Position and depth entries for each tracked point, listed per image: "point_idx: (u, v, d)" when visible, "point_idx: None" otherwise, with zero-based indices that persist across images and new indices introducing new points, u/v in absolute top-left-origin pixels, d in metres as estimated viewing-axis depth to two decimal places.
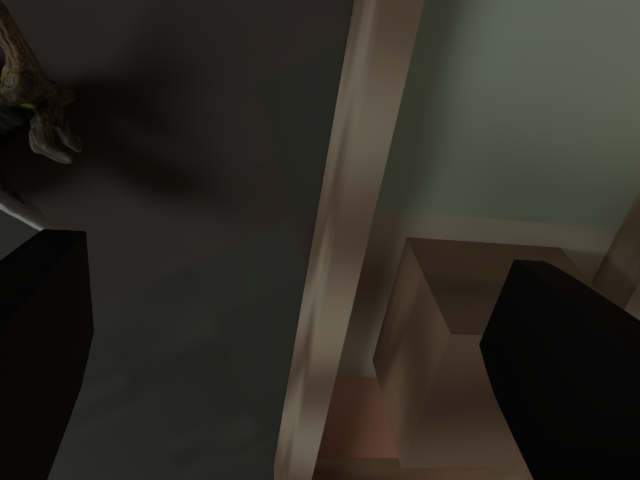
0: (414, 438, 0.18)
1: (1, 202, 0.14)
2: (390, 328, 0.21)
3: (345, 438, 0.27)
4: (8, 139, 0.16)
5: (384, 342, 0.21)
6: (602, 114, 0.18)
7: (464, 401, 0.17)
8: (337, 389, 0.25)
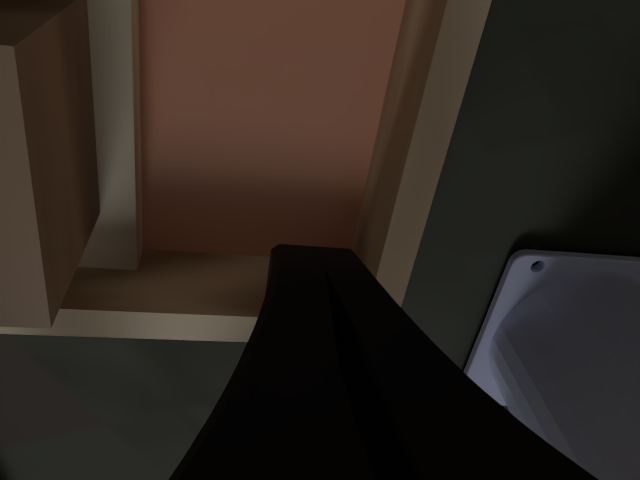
0: None
1: None
2: None
3: (316, 203, 0.18)
4: None
5: None
6: None
7: None
8: (208, 221, 0.18)
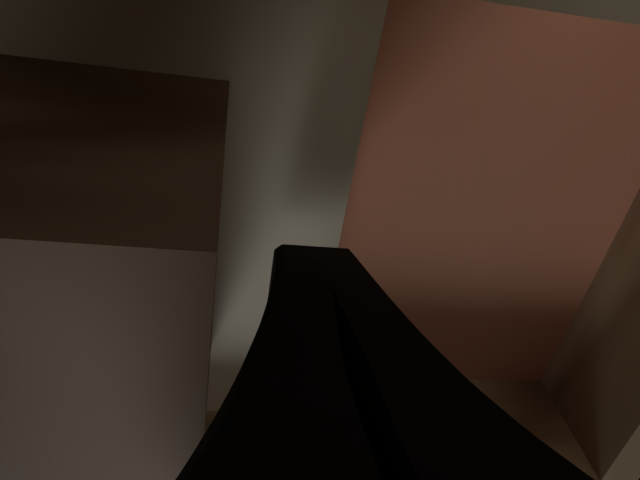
0: None
1: None
2: None
3: (519, 319, 0.15)
4: None
5: None
6: None
7: None
8: None
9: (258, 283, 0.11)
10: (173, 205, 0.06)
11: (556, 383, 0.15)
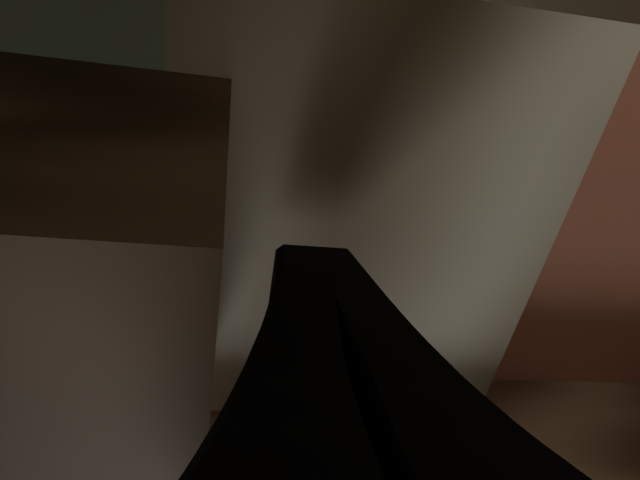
0: None
1: None
2: None
3: None
4: None
5: None
6: None
7: None
8: (546, 348, 0.15)
9: (466, 293, 0.12)
10: (178, 202, 0.06)
11: None
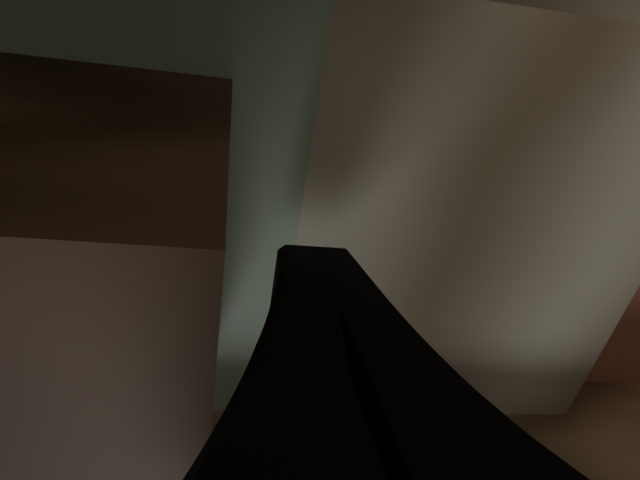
0: None
1: None
2: None
3: None
4: None
5: None
6: None
7: None
8: (628, 351, 0.16)
9: (571, 299, 0.13)
10: (180, 204, 0.06)
11: None
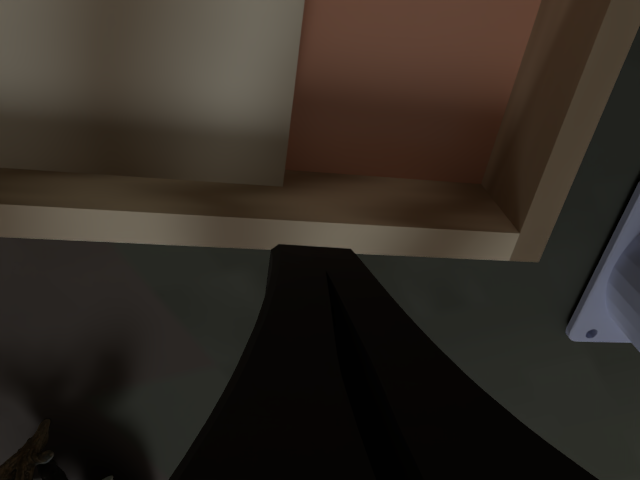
0: None
1: None
2: None
3: (457, 119, 0.18)
4: None
5: None
6: None
7: None
8: (349, 139, 0.18)
9: (241, 52, 0.15)
10: None
11: (491, 178, 0.19)
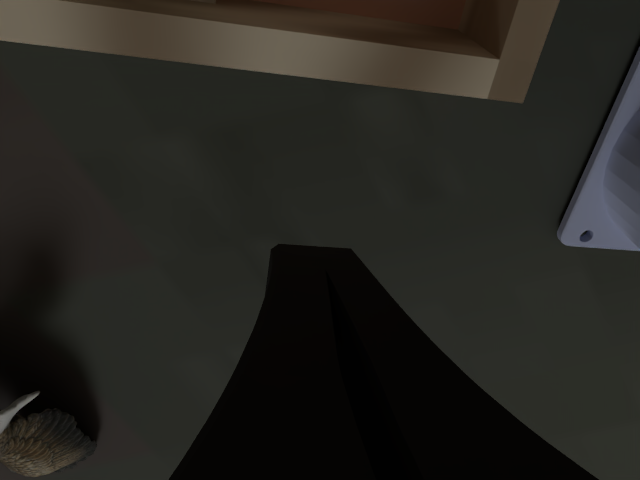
0: None
1: None
2: None
3: None
4: None
5: None
6: None
7: None
8: None
9: None
10: None
11: (469, 16, 0.16)
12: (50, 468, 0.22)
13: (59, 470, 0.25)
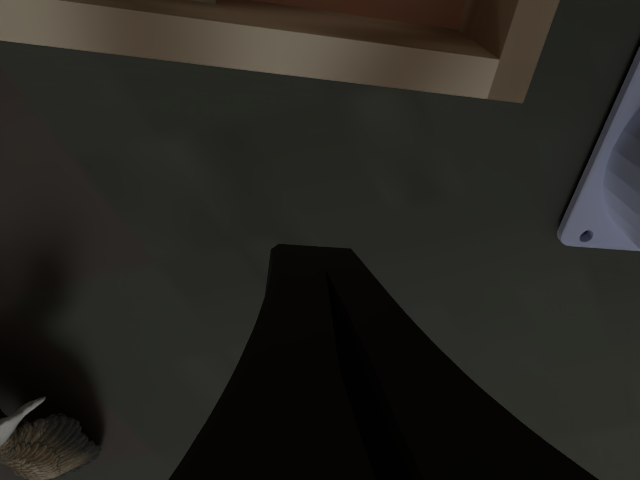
0: None
1: None
2: None
3: None
4: None
5: None
6: None
7: None
8: None
9: None
10: None
11: (469, 16, 0.16)
12: (55, 472, 0.23)
13: (64, 474, 0.26)
